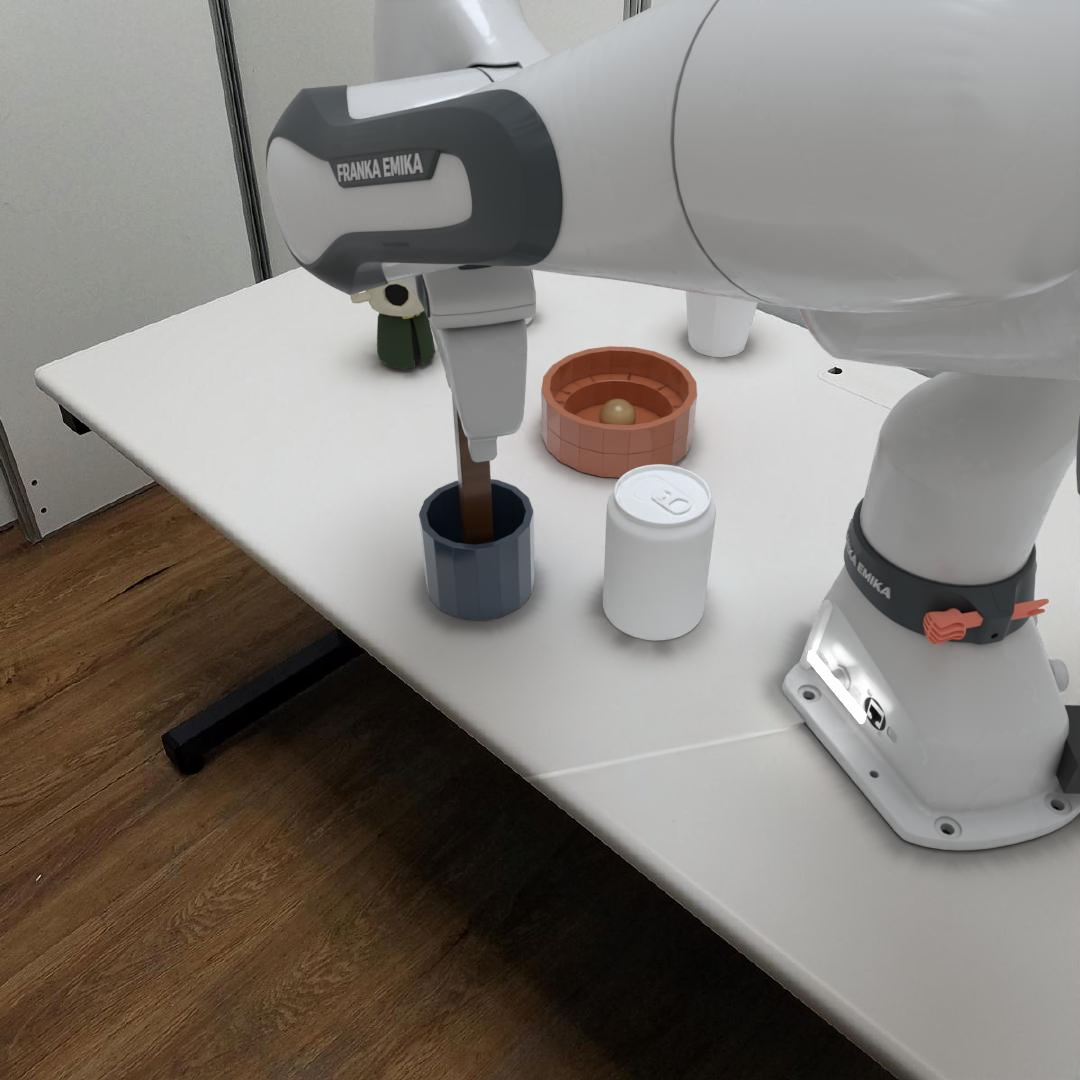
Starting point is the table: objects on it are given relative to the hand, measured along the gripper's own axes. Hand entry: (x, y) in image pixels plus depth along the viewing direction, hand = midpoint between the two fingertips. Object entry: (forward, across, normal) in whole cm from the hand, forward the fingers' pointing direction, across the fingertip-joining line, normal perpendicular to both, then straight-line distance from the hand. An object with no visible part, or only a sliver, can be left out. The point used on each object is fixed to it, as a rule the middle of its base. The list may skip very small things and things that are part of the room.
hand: (470, 418), depth 77 cm
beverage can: (+17, +6, +13) cm, 22 cm away
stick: (+16, 0, 0) cm, 16 cm away
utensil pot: (+17, 0, 0) cm, 17 cm away
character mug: (+17, -38, -1) cm, 42 cm away
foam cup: (+17, -33, +33) cm, 50 cm away
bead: (+14, -18, +17) cm, 29 cm away
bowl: (+17, -18, +17) cm, 30 cm away
